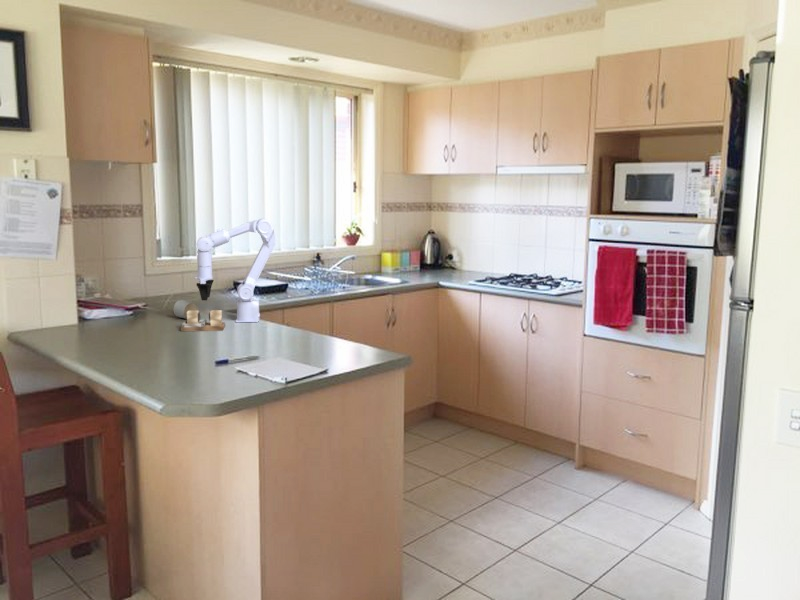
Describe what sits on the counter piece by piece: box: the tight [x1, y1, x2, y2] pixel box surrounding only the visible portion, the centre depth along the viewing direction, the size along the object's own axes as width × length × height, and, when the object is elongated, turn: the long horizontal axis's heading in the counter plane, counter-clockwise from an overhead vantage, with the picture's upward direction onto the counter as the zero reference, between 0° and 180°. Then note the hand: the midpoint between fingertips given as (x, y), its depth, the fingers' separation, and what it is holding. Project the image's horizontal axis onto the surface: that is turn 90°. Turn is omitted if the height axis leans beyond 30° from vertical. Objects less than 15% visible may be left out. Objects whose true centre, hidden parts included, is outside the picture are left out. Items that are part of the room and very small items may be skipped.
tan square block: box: [186, 309, 201, 324], centre depth 271 cm, size 5×4×6 cm
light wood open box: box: [180, 309, 226, 332], centre depth 271 cm, size 16×9×7 cm, turn 99°
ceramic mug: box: [172, 299, 202, 320], centre depth 293 cm, size 11×8×8 cm
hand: (205, 298), depth 283 cm, fingers open, 7 cm apart
